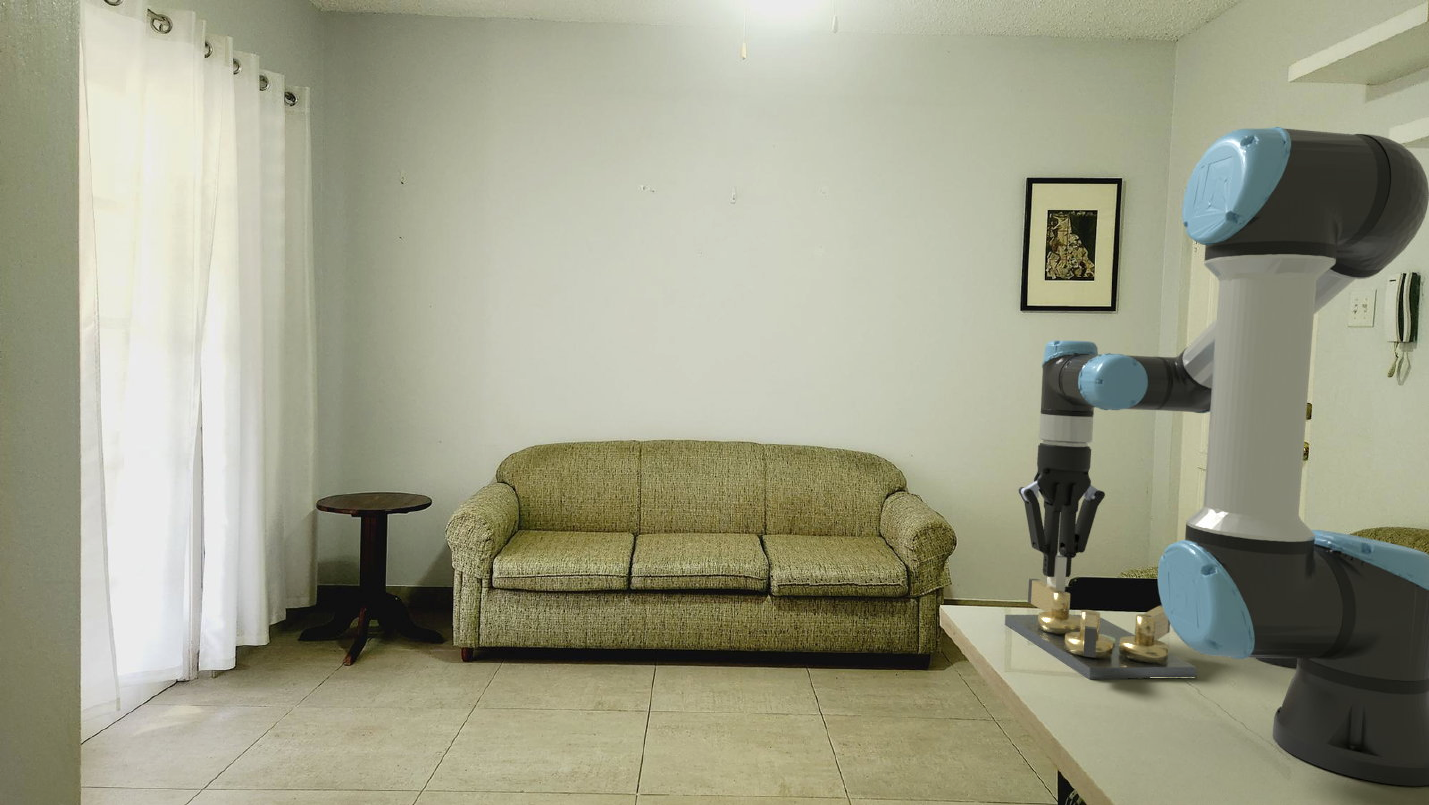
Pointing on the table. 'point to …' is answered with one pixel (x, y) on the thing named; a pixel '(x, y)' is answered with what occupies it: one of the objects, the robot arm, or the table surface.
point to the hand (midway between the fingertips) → (1055, 597)
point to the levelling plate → (1099, 667)
